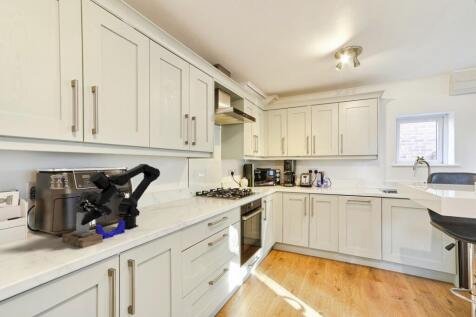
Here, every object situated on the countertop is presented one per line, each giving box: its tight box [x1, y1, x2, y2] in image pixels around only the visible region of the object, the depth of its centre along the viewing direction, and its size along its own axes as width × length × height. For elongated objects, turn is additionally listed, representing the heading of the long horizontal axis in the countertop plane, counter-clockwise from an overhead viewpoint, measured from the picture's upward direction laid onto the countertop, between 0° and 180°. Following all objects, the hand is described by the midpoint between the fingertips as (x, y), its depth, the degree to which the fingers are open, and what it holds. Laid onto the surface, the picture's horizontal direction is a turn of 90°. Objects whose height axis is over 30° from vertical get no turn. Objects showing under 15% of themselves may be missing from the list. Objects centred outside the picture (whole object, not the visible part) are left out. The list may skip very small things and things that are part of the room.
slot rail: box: [61, 231, 104, 249], centre depth 97 cm, size 16×8×3 cm, turn 63°
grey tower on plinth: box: [72, 211, 93, 238], centre depth 97 cm, size 7×4×13 cm, turn 63°
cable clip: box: [94, 219, 126, 240], centre depth 105 cm, size 12×4×6 cm, turn 145°
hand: (79, 224), depth 96 cm, fingers open, 4 cm apart
